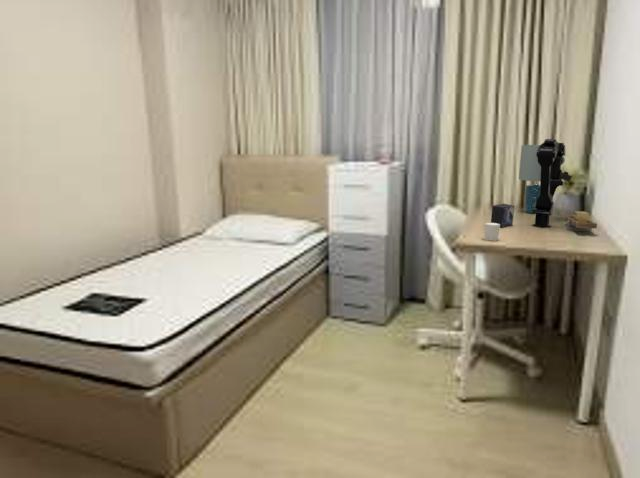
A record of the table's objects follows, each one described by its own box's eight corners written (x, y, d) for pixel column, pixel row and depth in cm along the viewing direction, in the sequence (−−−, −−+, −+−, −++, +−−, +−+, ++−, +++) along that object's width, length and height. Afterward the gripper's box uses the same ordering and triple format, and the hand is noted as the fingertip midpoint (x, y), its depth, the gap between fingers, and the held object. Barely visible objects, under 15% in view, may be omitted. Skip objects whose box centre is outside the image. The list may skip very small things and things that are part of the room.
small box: (501, 228, 264) (503, 207, 262) (489, 226, 269) (491, 205, 267) (513, 225, 271) (515, 205, 268) (501, 223, 276) (503, 203, 273)
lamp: (519, 214, 301) (526, 146, 293) (512, 209, 320) (518, 144, 311) (556, 215, 298) (563, 146, 290) (546, 210, 317) (553, 145, 309)
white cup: (488, 241, 235) (489, 225, 234) (479, 238, 242) (481, 222, 240) (502, 240, 237) (503, 224, 236) (493, 237, 244) (494, 222, 242)
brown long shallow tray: (596, 228, 246) (597, 223, 246) (577, 227, 248) (577, 222, 247) (581, 220, 271) (581, 216, 271) (563, 220, 273) (564, 215, 273)
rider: (588, 222, 255) (589, 213, 254) (577, 222, 256) (577, 213, 255) (584, 220, 262) (585, 211, 261) (573, 220, 263) (574, 211, 262)
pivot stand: (599, 236, 247) (600, 226, 246) (572, 234, 249) (573, 225, 248) (584, 225, 271) (585, 216, 270) (560, 224, 273) (561, 215, 272)
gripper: (575, 169, 269) (572, 200, 273) (567, 165, 287) (564, 194, 290) (551, 168, 272) (548, 199, 275) (545, 165, 289) (542, 194, 293)
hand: (551, 197), depth 283 cm, fingers closed
